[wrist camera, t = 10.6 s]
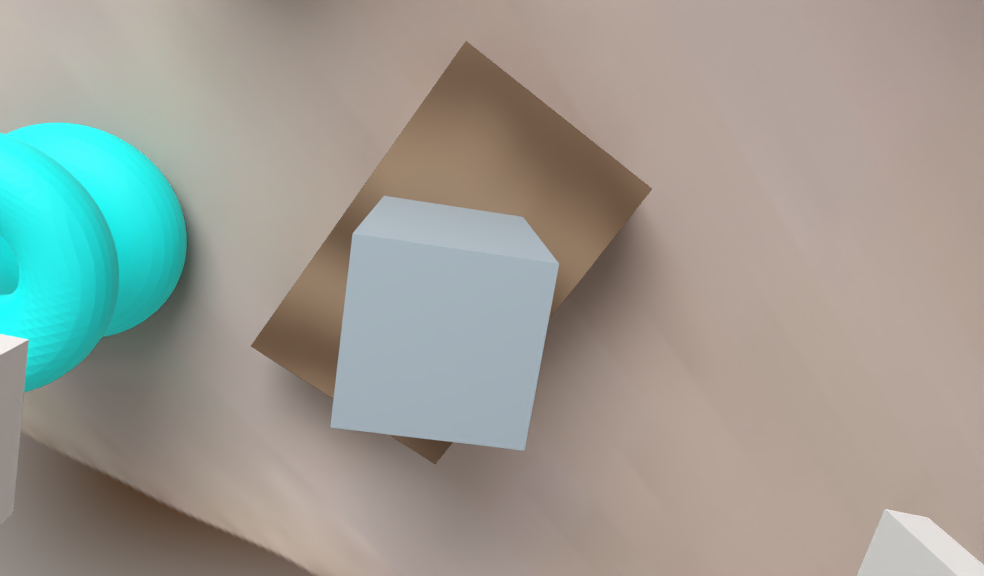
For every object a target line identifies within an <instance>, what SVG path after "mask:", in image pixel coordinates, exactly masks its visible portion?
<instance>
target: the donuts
mask: <svg viewBox="0 0 984 576" xmlns="http://www.w3.org/2000/svg"><path fill="white" fill-rule="evenodd" d="M186 251H187V232H186V225H185V220H184V216H183V212H182V209H181V206H180V204H179V201H178V199H177V197H176V194H175V192H174V191H173V189H172V187H171V185H170V184H169V182H168V181H167V179H166V178H165V177H164V175H163V174H162V173H161V171H160V170H159V169H158V168H157V167H156V166H155V165H154V164H153V163H152V162H151V161H150V160H149V159H148V158H147V157H146V156H145V155H144V154H142V153H141V152H140V151H139V150H137V149H136V148H135V147H133V146H131V145H130V144H128V143H127V142H125V141H123V140H121V139H120V138H118V137H116V136H114V135H112V134H109V133H107V132H104V131H102V130H99V129H96V128H92V127H89V126H84V125H79V124H72V123H42V124H35V125H30V126H26V127H23V128H20V129H17V130H14V131H12V132H10V133H7V134H2V133H0V334H3V335H8V336H13V337H18V338H23V339H28V340H29V343H28V354H27V365H26V376H25V387H24V392H27V391H31V390H34V389H37V388H40V387H42V386H44V385H47V384H49V383H51V382H53V381H55V380H56V379H58V378H60V377H61V376H63V375H64V374H66V373H68V372H69V371H71V370H72V369H73V368H75V367H76V366H77V365H78V364H79V363H81V362H82V361H83V360H84V359H85V358H86V357H87V356H88V355H89V354H90V353H91V351H92V350H93V349H94V347H95V346H96V345H97V344H98V342H99V341H100V339H101V338H102V337H105V336H110V335H114V334H118V333H121V332H123V331H126V330H128V329H131V328H133V327H134V326H136V325H138V324H140V323H141V322H143V321H145V320H146V319H147V318H149V317H150V316H151V315H153V314H154V313H155V312H156V311H157V310H158V309H159V308H160V307H161V306H162V305H163V304H164V303H165V302H166V301H167V299H168V298H169V297H170V295H171V294H172V292H173V290H174V289H175V287H176V285H177V283H178V281H179V278H180V276H181V273H182V270H183V267H184V263H185V258H186Z"/></svg>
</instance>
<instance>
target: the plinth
mask: <svg viewBox="0 0 984 576" xmlns="http://www.w3.org/2000/svg"><path fill="white" fill-rule="evenodd" d="M651 190H652V188H650V187H649V186H648V185H647V184H645V183H644V182H643V181H642V180H640V179H639V178H638V177H637V176H635V175H634V174H633V173H632V172H630V171H629V170H628V169H627V168H625V167H624V166H623V165H622V164H620V163H619V162H618V161H616V160H615V159H614V158H613V157H611V156H610V155H609V154H608V153H606V152H605V151H604V150H603V149H601V148H600V147H599V146H598V145H596V144H595V143H594V142H593V141H591V140H590V139H589V138H588V137H586V136H585V135H584V134H582V133H581V132H580V131H579V130H577V129H576V128H575V127H574V126H572V125H571V124H570V123H569V122H567V121H566V120H565V119H564V118H562V117H561V116H560V115H559V114H557V113H556V112H555V111H554V110H552V109H551V108H550V107H548V106H547V105H546V104H545V103H543V102H542V101H541V100H540V99H538V98H537V97H536V96H535V95H533V94H532V93H531V92H530V91H528V90H527V89H526V88H525V87H523V86H522V85H521V84H520V83H518V82H517V81H516V80H514V79H513V78H512V77H511V76H509V75H508V74H507V73H506V72H504V71H503V70H502V69H501V68H499V67H498V66H497V65H496V64H494V63H493V62H492V61H491V60H489V59H488V58H487V57H486V56H484V55H483V54H482V53H480V52H479V51H478V50H477V49H475V48H474V47H473V46H472V45H470V44H469V43H468V42H467V41H466V42H465V43H464V44H463V46H462V47H461V49H460V50H459V52H458V53H457V54H456V56H455V57H454V59H453V60H452V61H451V63H450V64H449V66H448V67H447V69H446V70H445V71H444V73H443V74H442V76H441V77H440V78H439V80H438V81H437V83H436V84H435V86H434V87H433V88H432V90H431V91H430V93H429V94H428V96H427V97H426V98H425V100H424V101H423V103H422V104H421V105H420V107H419V108H418V110H417V111H416V113H415V114H414V115H413V117H412V118H411V120H410V121H409V122H408V124H407V125H406V127H405V128H404V130H403V131H402V132H401V134H400V135H399V137H398V138H397V139H396V141H395V142H394V144H393V145H392V147H391V148H390V149H389V151H388V152H387V154H386V155H385V156H384V158H383V159H382V161H381V162H380V164H379V165H378V166H377V168H376V169H375V171H374V172H373V173H372V175H371V176H370V178H369V179H368V181H367V182H366V183H365V185H364V186H363V188H362V189H361V191H360V192H359V193H358V195H357V196H356V198H355V199H354V200H353V202H352V203H351V205H350V206H349V208H348V209H347V210H346V212H345V213H344V215H343V216H342V217H341V219H340V220H339V222H338V223H337V225H336V226H335V227H334V229H333V230H332V232H331V233H330V234H329V236H328V237H327V239H326V240H325V242H324V243H323V244H322V246H321V247H320V249H319V250H318V251H317V253H316V254H315V256H314V257H313V259H312V260H311V261H310V263H309V264H308V266H307V267H306V268H305V270H304V271H303V273H302V274H301V276H300V277H299V278H298V280H297V281H296V283H295V284H294V286H293V287H292V288H291V290H290V291H289V293H288V294H287V295H286V297H285V298H284V300H283V301H282V303H281V304H280V305H279V307H278V308H277V310H276V311H275V312H274V314H273V315H272V317H271V318H270V320H269V321H268V322H267V324H266V325H265V327H264V328H263V329H262V331H261V332H260V334H259V335H258V337H257V338H256V339H255V341H254V342H253V344H252V345H251V347H253V348H254V349H256V350H257V351H259V352H261V353H262V354H264V355H265V356H267V357H268V358H270V359H271V360H273V361H275V362H276V363H278V364H279V365H281V366H282V367H284V368H286V369H287V370H289V371H290V372H292V373H293V374H295V375H297V376H298V377H300V378H301V379H303V380H304V381H306V382H307V383H309V384H311V385H312V386H314V387H315V388H317V389H318V390H320V391H322V392H323V393H325V394H326V395H328V396H329V397H331V398H332V399H334V390H335V382H336V373H337V364H338V356H339V347H340V338H341V330H342V321H343V312H344V304H345V295H346V286H347V278H348V269H349V260H350V252H351V243H352V234H353V232H354V231H355V230H356V229H357V228H358V226H359V225H360V224H361V223H362V222H363V220H364V219H365V218H366V217H367V216H368V214H369V213H370V212H371V211H372V210H373V208H374V207H375V206H376V205H377V204H378V202H379V201H380V200H381V199H382V198H383V196H389V197H396V198H402V199H409V200H415V201H422V202H429V203H435V204H442V205H448V206H455V207H461V208H468V209H475V210H481V211H488V212H494V213H501V214H507V215H514V216H521V217H524V219H525V220H526V221H527V223H528V224H529V225H530V226H531V228H532V229H533V230H534V232H535V233H536V234H537V236H538V237H539V238H540V239H541V241H542V242H543V243H544V245H545V246H546V247H547V249H548V250H549V251H550V252H551V254H552V255H553V256H554V258H555V259H556V260H557V261H558V263H559V268H558V273H557V278H556V284H555V289H554V295H553V300H552V305H551V311H550V316H549V319H550V318H551V317H552V315H553V314H554V313H555V312H556V310H557V309H558V308H559V307H560V305H561V304H562V303H563V301H564V300H565V299H566V298H567V296H568V295H569V294H570V293H571V291H572V290H573V289H574V287H575V286H576V285H577V284H578V282H579V281H580V280H581V279H582V277H583V276H584V275H585V274H586V272H587V271H588V270H589V268H590V267H591V266H592V265H593V263H594V262H595V261H596V260H597V258H598V257H599V256H600V254H601V253H602V252H603V251H604V249H605V248H606V247H607V246H608V244H609V243H610V242H611V240H612V239H613V238H614V237H615V235H616V234H617V233H618V232H619V230H620V229H621V228H622V227H623V225H624V224H625V223H626V221H627V220H628V219H629V218H630V216H631V215H632V214H633V213H634V211H635V210H636V209H637V207H638V206H639V205H640V204H641V202H642V201H643V200H644V199H645V197H646V196H647V195H648V193H649V192H650V191H651ZM390 436H392V437H393V438H395V439H397V440H398V441H400V442H401V443H403V444H404V445H406V446H408V447H409V448H411V449H412V450H414V451H415V452H417V453H418V454H420V455H422V456H423V457H425V458H426V459H428V460H429V461H431V462H433V463H434V464H436V463H437V461H438V460H439V459H440V458H441V456H442V455H443V454H444V453H445V451H446V450H447V449H448V447H449V446H450V445H451V444H452V442H448V441H440V440H431V439H423V438H414V437H406V436H397V435H390Z"/></svg>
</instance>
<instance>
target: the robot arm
mask: <svg viewBox="0 0 984 576" xmlns="http://www.w3.org/2000/svg"><path fill="white" fill-rule="evenodd" d="M28 343H29V340H28V339H23V338H18V337H13V336H8V335H3V334H0V524H1V523H2V522H3V521H4V520H5V519H7V518H8V517H9V516H10V515H11V514H12V513H13V508H14V507H13V506H14V496H15V486H16V475H17V464H18V453H19V442H20V431H21V420H22V409H23V398H24V387H25V376H26V365H27V354H28ZM857 576H984V565H983V564H982V563H981V562H980V561H978V560H977V559H976V558H975V557H974V556H973V555H971V554H970V553H969V552H968V551H967V550H965V549H964V548H963V547H962V546H961V545H960V544H958V543H957V542H956V541H955V540H954V539H953V538H951V537H950V536H949V535H948V534H947V533H945V532H944V531H943V530H942V529H941V528H940V527H938V526H937V525H936V524H935V523H934V522H933V521H931V520H930V519H929V518H928V517H923V516H918V515H913V514H908V513H903V512H898V511H893V510H888V509H885V510H884V512H883V515H882V517H881V519H880V522H879V524H878V527H877V529H876V531H875V534H874V536H873V539H872V541H871V543H870V546H869V548H868V551H867V553H866V555H865V558H864V560H863V563H862V565H861V567H860V570H859V572H858V574H857Z"/></svg>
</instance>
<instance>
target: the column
mask: <svg viewBox="0 0 984 576" xmlns="http://www.w3.org/2000/svg"><path fill="white" fill-rule="evenodd" d="M558 268H559V263H558V261H557V260H556V259H555V258H554V256H553V255H552V254H551V252H550V251H549V250H548V249H547V247H546V246H545V245H544V243H543V242H542V241H541V239H540V238H539V237H538V236H537V234H536V233H535V232H534V230H533V229H532V228H531V226H530V225H529V224H528V223H527V221H526V220H525V219H524V217H521V216H514V215H507V214H501V213H494V212H488V211H481V210H475V209H468V208H461V207H455V206H448V205H442V204H435V203H429V202H422V201H415V200H409V199H402V198H396V197H389V196H383V198H382V199H381V200H380V201H379V202H378V204H377V205H376V206H375V207H374V208H373V210H372V211H371V212H370V213H369V214H368V216H367V217H366V218H365V219H364V220H363V222H362V223H361V224H360V225H359V226H358V228H357V229H356V230H355V231H354V232H353V234H352V243H351V252H350V260H349V269H348V278H347V286H346V295H345V304H344V312H343V321H342V330H341V338H340V347H339V356H338V364H337V373H336V382H335V390H334V399H333V408H332V416H331V425H330V428H339V429H347V430H355V431H364V432H372V433H381V434H389V435H397V436H406V437H414V438H423V439H431V440H440V441H448V442H456V443H465V444H473V445H482V446H490V447H498V448H507V449H515V450H524V451H525V446H526V440H527V435H528V429H529V424H530V419H531V413H532V408H533V402H534V397H535V392H536V386H537V381H538V375H539V370H540V365H541V359H542V354H543V348H544V343H545V338H546V332H547V327H548V322H549V316H550V311H551V305H552V300H553V295H554V289H555V284H556V278H557V273H558Z"/></svg>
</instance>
